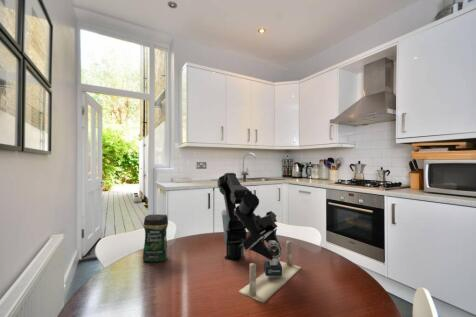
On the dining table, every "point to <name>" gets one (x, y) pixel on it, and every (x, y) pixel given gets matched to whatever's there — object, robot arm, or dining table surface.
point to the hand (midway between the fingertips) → (276, 255)
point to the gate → (269, 279)
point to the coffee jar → (155, 238)
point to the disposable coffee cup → (224, 219)
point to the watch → (273, 260)
